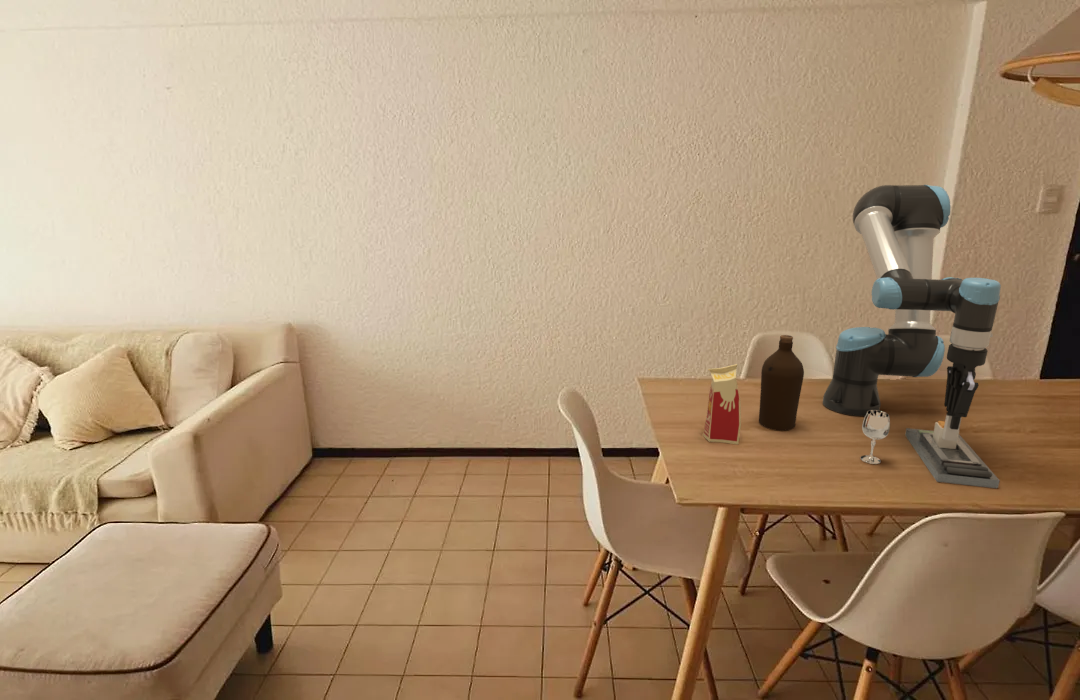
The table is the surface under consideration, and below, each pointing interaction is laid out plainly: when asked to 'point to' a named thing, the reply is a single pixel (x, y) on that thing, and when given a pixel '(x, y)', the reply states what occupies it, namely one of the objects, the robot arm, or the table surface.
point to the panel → (948, 459)
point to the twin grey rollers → (967, 470)
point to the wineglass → (875, 431)
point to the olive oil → (780, 387)
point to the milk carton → (723, 407)
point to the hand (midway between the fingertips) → (949, 439)
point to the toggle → (938, 436)
